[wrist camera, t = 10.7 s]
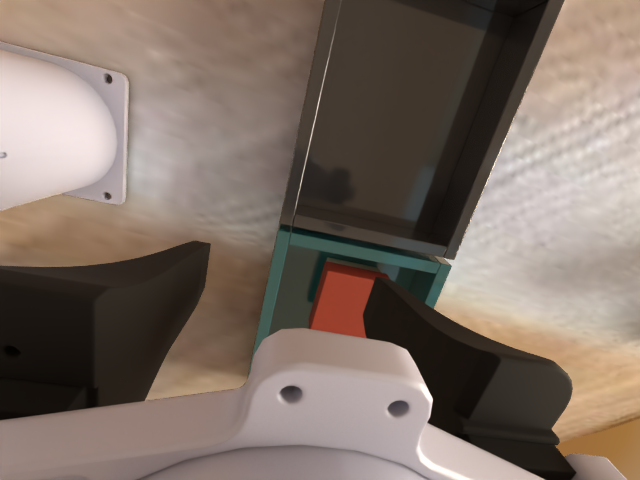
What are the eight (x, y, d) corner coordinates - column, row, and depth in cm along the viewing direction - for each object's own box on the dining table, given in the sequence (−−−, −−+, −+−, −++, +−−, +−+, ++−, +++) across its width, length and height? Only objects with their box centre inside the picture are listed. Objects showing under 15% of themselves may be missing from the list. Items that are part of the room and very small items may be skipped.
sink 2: (281, 209, 21) (278, 223, 18) (336, -55, 17) (345, -99, 13) (433, 241, 23) (454, 260, 20) (523, 10, 18) (571, -14, 15)
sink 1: (247, 377, 27) (240, 412, 23) (280, 214, 22) (277, 230, 18) (373, 394, 28) (382, 429, 25) (431, 246, 23) (452, 265, 20)
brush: (290, 370, 26) (289, 404, 23) (324, 253, 22) (328, 274, 19) (342, 378, 26) (348, 412, 23) (383, 266, 23) (396, 288, 20)
